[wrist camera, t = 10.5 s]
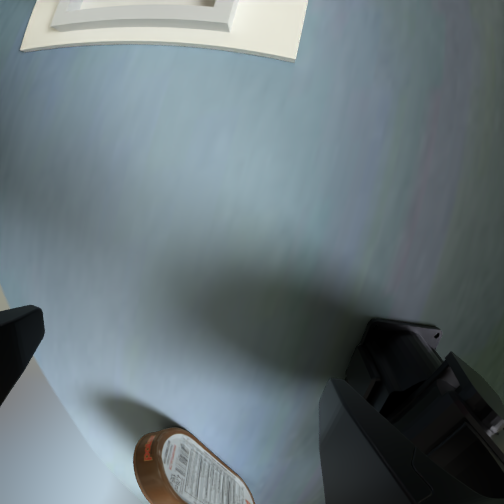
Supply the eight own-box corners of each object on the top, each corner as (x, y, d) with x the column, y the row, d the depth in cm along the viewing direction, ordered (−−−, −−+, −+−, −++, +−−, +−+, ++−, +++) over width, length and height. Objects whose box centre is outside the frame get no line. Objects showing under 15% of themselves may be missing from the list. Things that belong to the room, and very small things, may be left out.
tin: (145, 414, 25) (117, 487, 17) (172, 405, 24) (146, 484, 16) (238, 493, 28) (233, 555, 20) (262, 487, 28) (261, 551, 20)
